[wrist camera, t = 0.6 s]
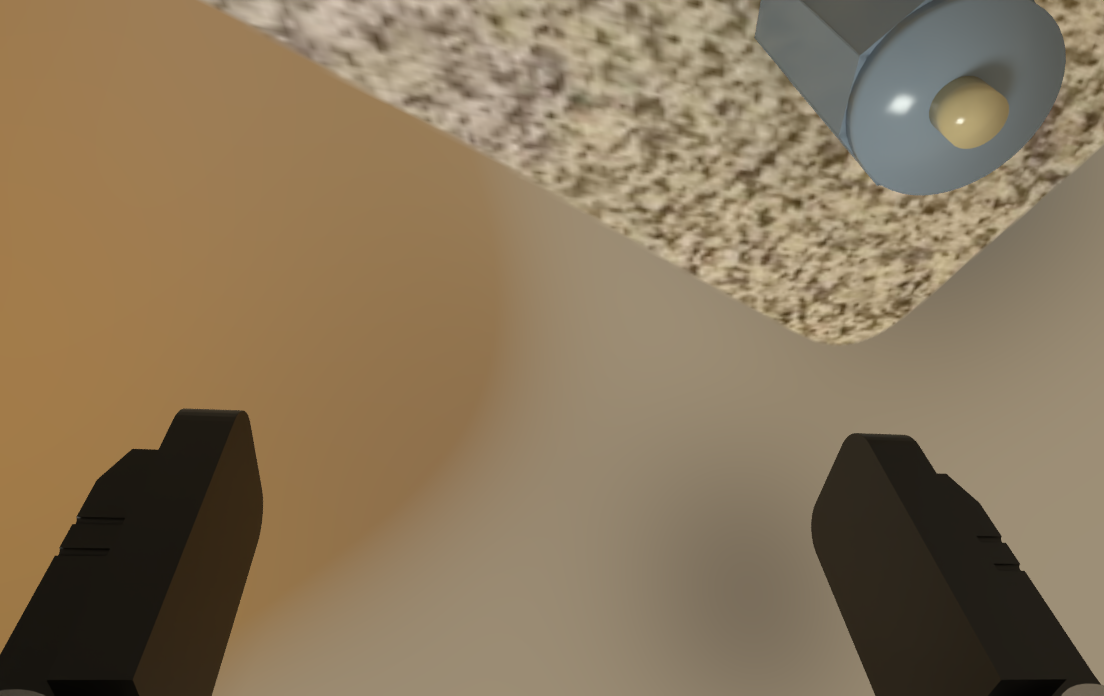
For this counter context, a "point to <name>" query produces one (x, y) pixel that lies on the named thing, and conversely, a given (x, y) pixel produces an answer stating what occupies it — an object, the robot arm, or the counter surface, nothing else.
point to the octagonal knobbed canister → (920, 81)
